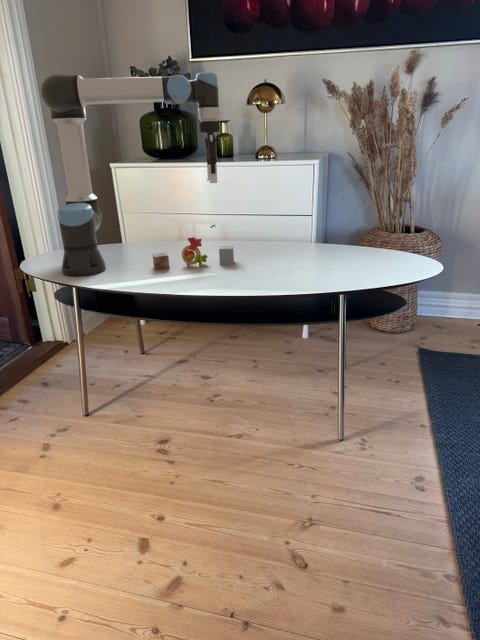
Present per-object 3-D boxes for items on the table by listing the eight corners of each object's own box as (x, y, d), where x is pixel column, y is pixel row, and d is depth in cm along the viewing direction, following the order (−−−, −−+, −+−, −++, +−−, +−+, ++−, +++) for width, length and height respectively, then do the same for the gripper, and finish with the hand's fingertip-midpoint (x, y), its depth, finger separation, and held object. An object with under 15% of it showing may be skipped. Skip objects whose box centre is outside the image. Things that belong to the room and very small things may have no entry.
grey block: (219, 265, 176) (219, 249, 173) (220, 261, 180) (219, 246, 178) (233, 264, 175) (232, 248, 173) (233, 261, 180) (233, 245, 178)
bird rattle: (186, 273, 174) (208, 264, 171) (172, 246, 171) (194, 235, 168) (191, 269, 180) (212, 259, 177) (177, 242, 177) (198, 232, 174)
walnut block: (155, 270, 172) (154, 257, 170) (153, 267, 176) (152, 254, 174) (169, 269, 173) (168, 255, 171) (167, 265, 177) (166, 252, 176)
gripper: (222, 119, 162) (225, 184, 170) (217, 121, 186) (219, 178, 193) (200, 120, 162) (204, 185, 169) (197, 121, 185) (201, 179, 193)
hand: (212, 181), depth 181 cm, fingers open, 13 cm apart
